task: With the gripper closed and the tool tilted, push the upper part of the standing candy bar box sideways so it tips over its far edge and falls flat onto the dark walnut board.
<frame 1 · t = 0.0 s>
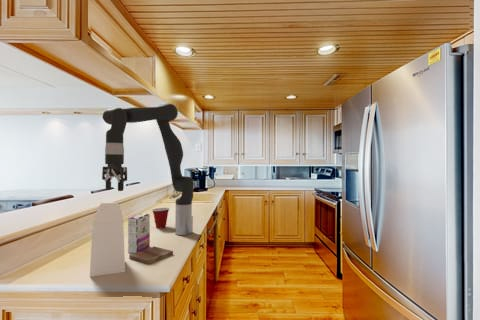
hand: (114, 190, 121), 29 cm above the worktop, tool pointing down, fingers open, 8 cm apart
candy bar box: (139, 250, 130), on the worktop
board: (151, 256, 122), on the worktop
plastic cup: (160, 227, 174), on the worktop
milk: (108, 269, 108), on the worktop
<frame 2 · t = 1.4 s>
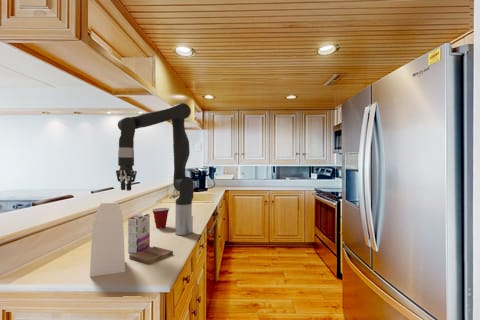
hand: (125, 190, 140), 27 cm above the worktop, tool pointing down, fingers open, 3 cm apart
nothing on the worktop moved.
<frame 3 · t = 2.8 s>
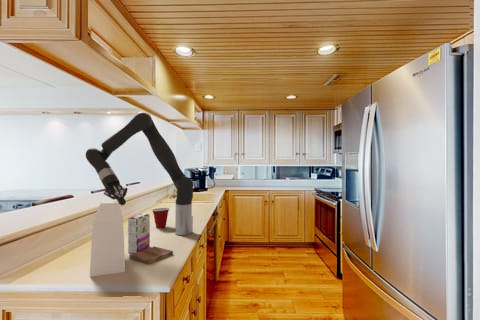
hand: (123, 204, 136), 21 cm above the worktop, tool tilted 45°, fingers closed
nothing on the worktop moved.
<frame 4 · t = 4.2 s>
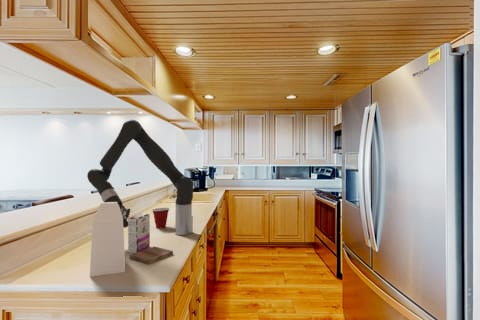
hand: (126, 226, 135), 10 cm above the worktop, tool tilted 45°, fingers closed
nothing on the worktop moved.
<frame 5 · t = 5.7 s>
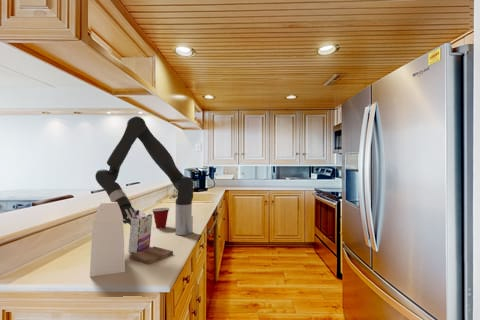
hand: (136, 228, 132), 10 cm above the worktop, tool tilted 45°, fingers closed
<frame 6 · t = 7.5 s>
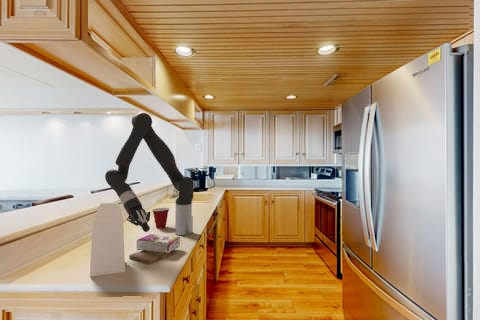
hand: (147, 230, 127), 10 cm above the worktop, tool tilted 45°, fingers closed
candy bar box: (143, 241, 130), point 4 cm above the worktop, touching board
everything else where it was.
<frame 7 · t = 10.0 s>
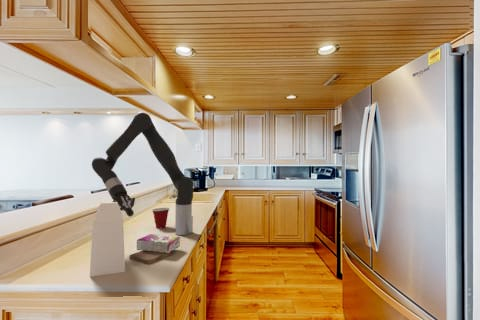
hand: (131, 215, 133), 16 cm above the worktop, tool tilted 45°, fingers closed
nothing on the worktop moved.
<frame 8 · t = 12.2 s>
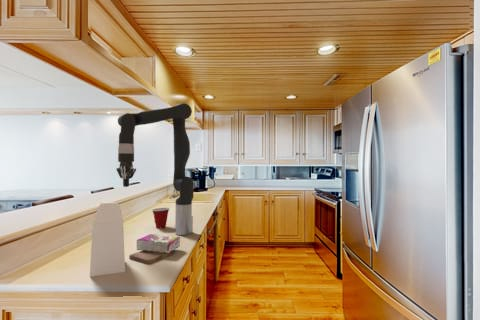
hand: (125, 186, 140), 29 cm above the worktop, tool pointing down, fingers closed
nothing on the worktop moved.
at the end: candy bar box tilted 91°; candy bar box inside the target area (11.6 cm from its centre), point 4.0 cm above the worktop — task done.
